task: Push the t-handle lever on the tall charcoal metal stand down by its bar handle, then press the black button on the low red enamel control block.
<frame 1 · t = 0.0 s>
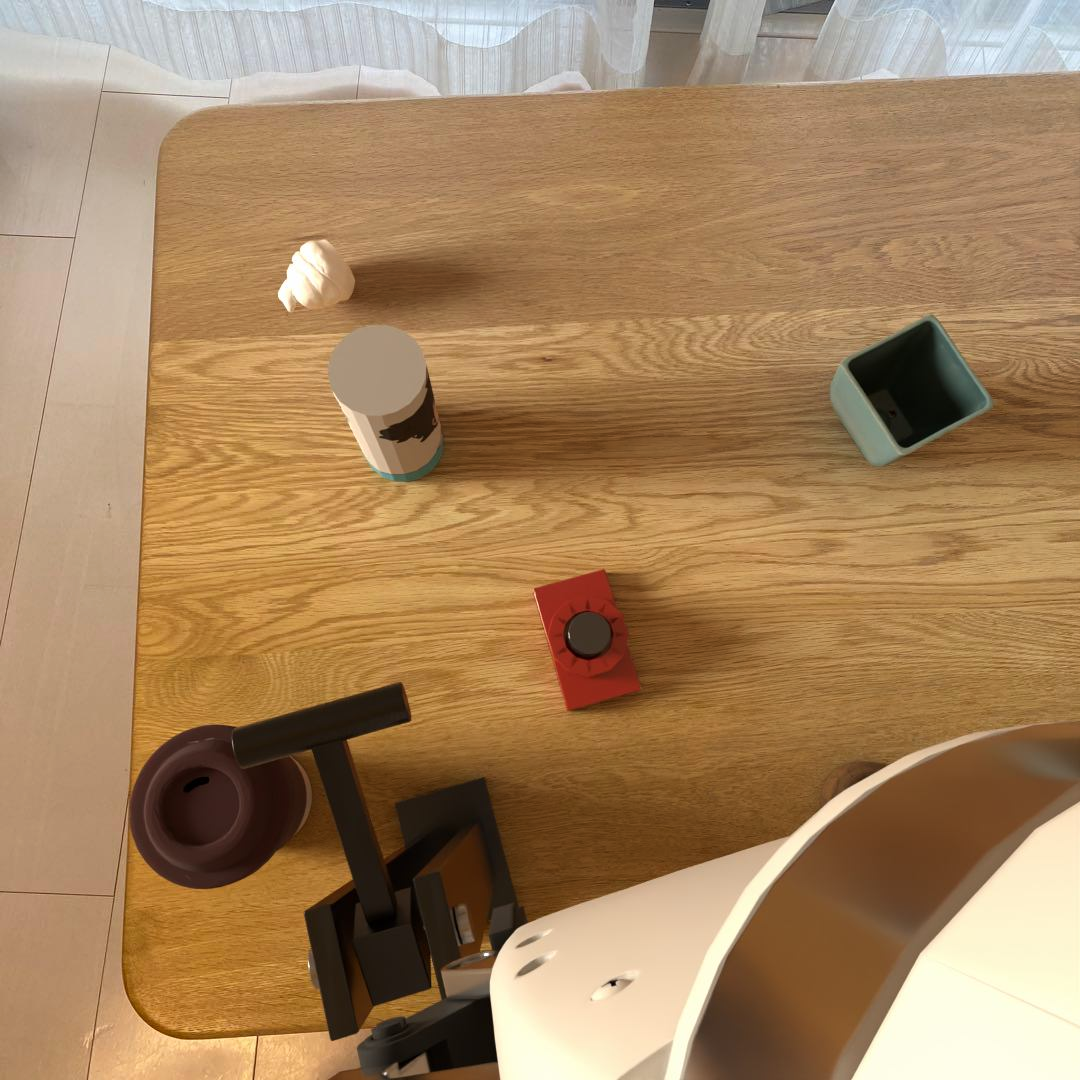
hand: (716, 911, 23), 50 cm above the table, tool pointing down, fingers open, 9 cm apart
t-handle lever: (361, 846, 34), point 39 cm above the table, hinge at 25.0°
mortar and pestle: (861, 804, 72), on the table
button block: (585, 640, 75), on the table
garlic bulb: (318, 299, 81), on the table
beige cylindrical canister: (404, 444, 78), on the table
coffee cup: (266, 798, 71), on the table
flower pot: (873, 425, 80), on the table
lever bracket: (457, 855, 70), on the table
cancel button: (588, 634, 71), point 3 cm above the table, slide at 0.1 cm
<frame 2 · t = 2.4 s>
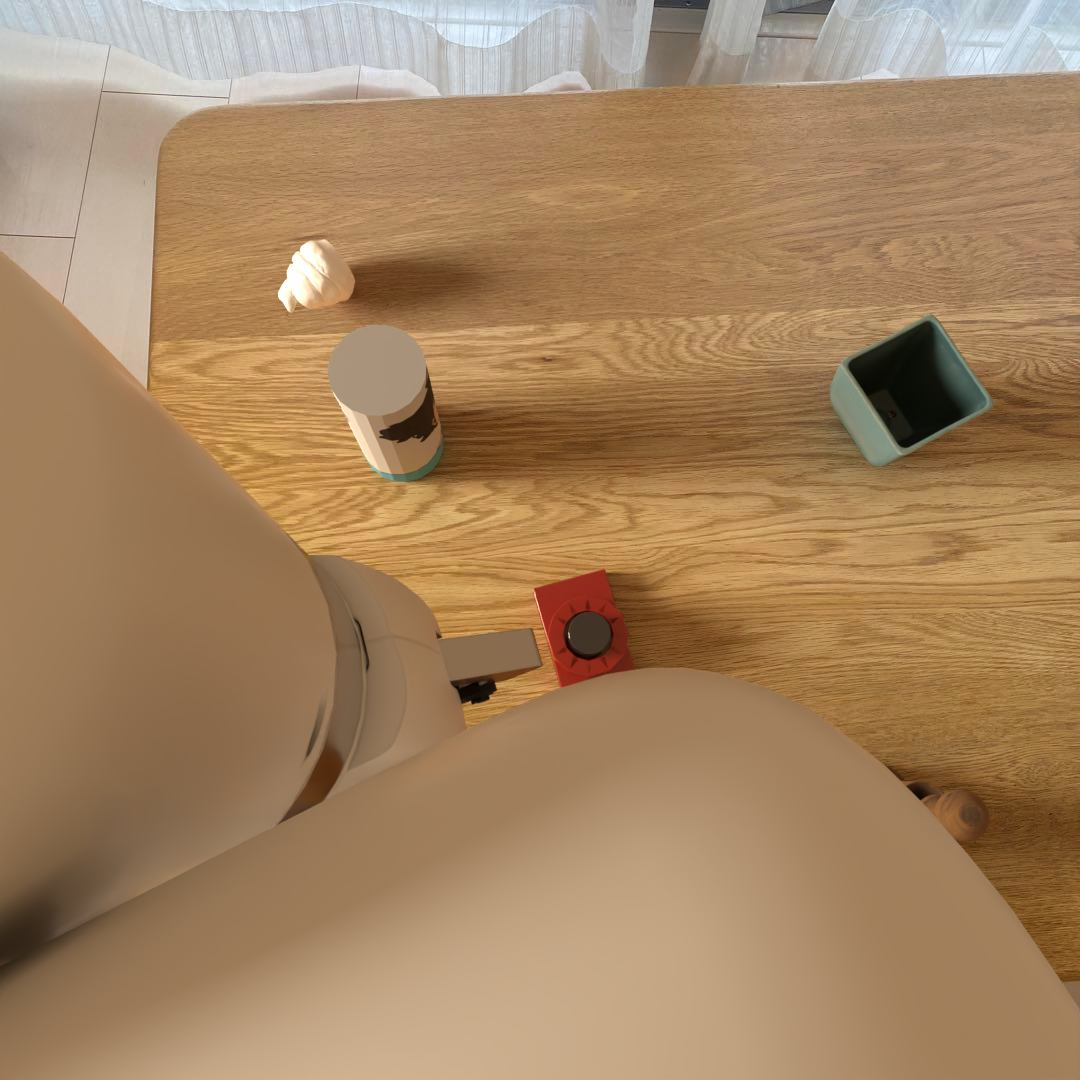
hand: (336, 727, 35), 38 cm above the table, tool pointing down, fingers closed on t-handle lever, 6 cm apart
t-handle lever: (361, 846, 34), point 39 cm above the table, hinge at 25.0°, touching gripper
everything else where it was.
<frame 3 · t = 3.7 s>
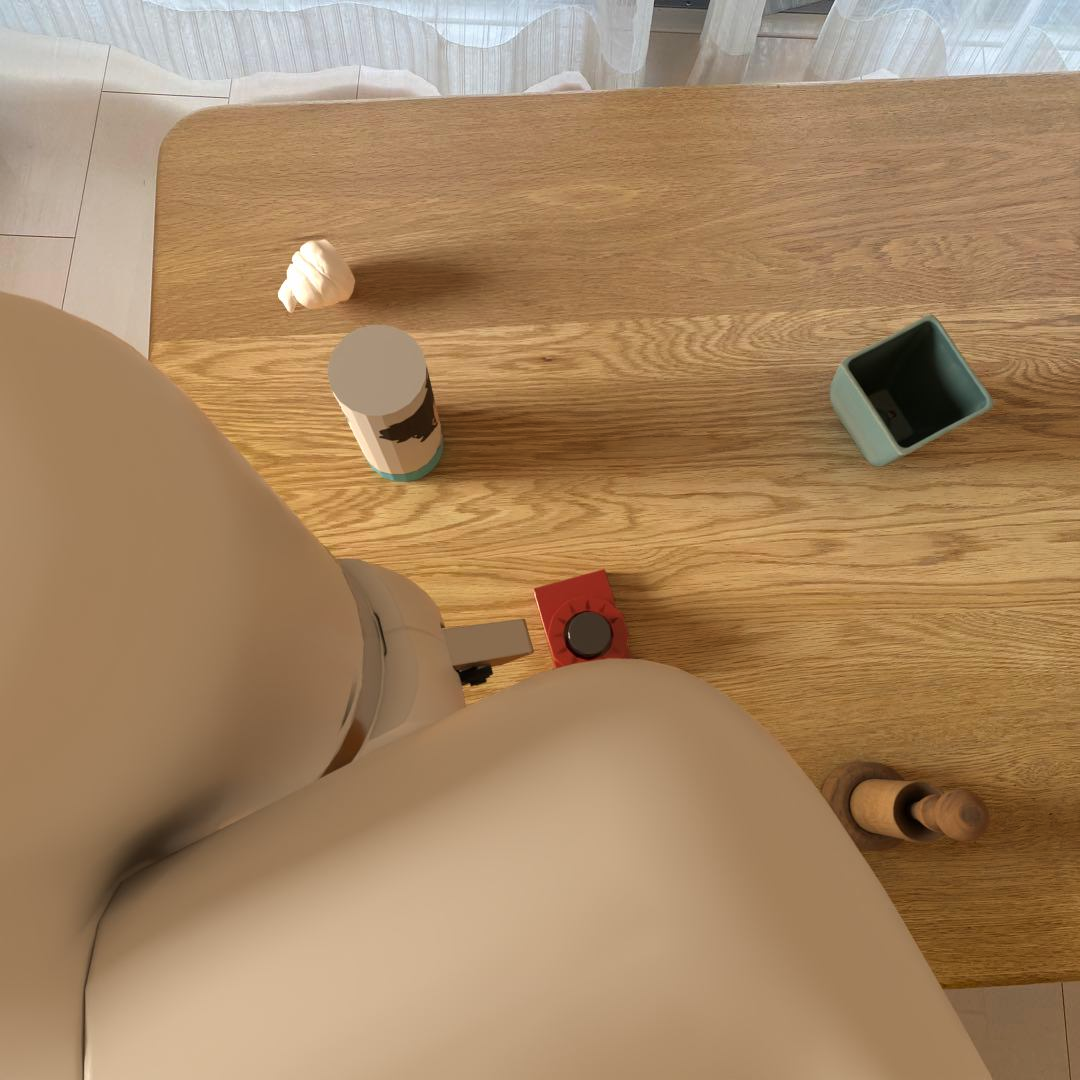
hand: (346, 707, 39), 35 cm above the table, tool pointing down, fingers closed on t-handle lever, 6 cm apart
t-handle lever: (365, 832, 35), point 37 cm above the table, hinge at 3.1°, touching gripper
everything else where it was.
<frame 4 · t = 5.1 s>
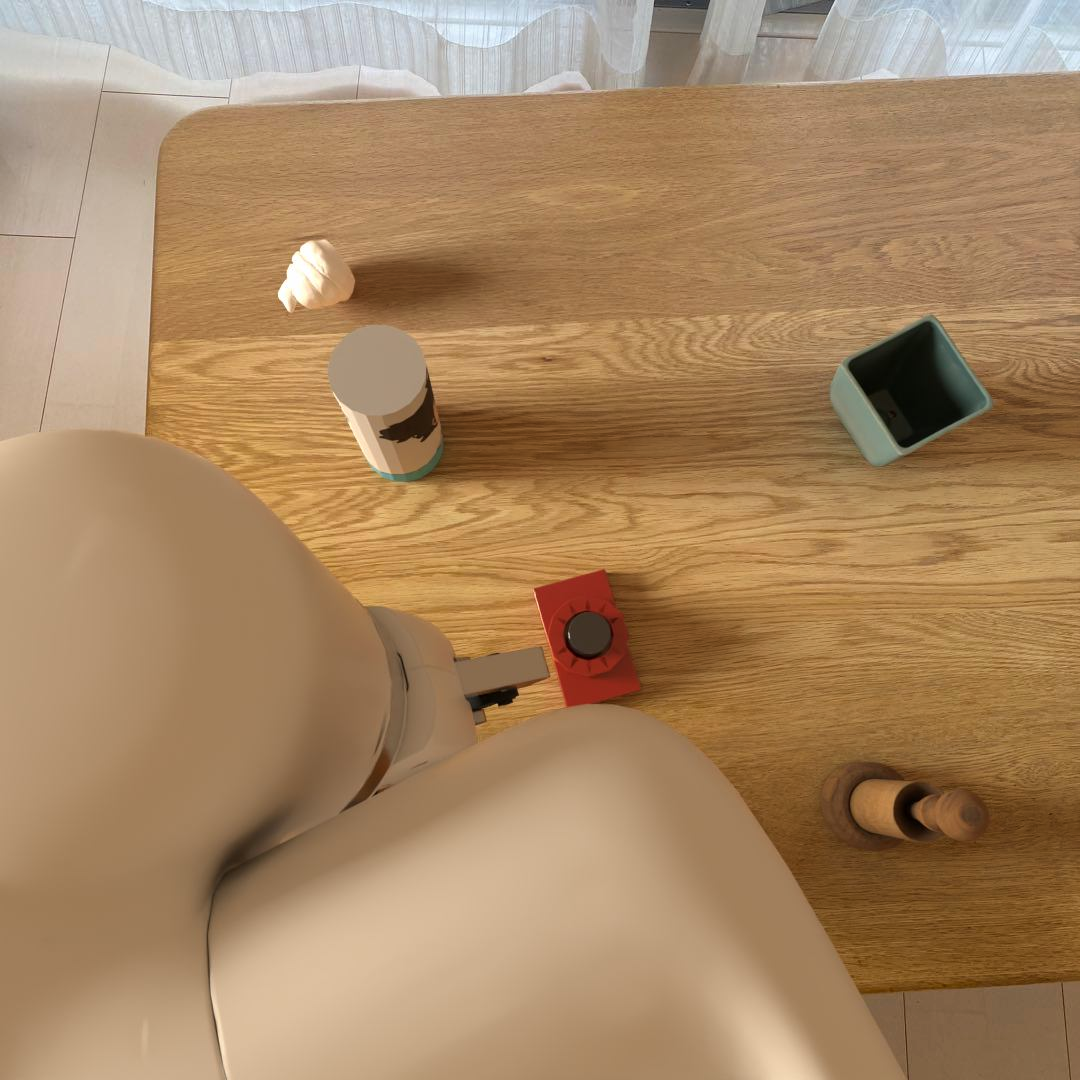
hand: (365, 730, 42), 31 cm above the table, tool pointing down, fingers open, 7 cm apart
t-handle lever: (372, 834, 37), point 36 cm above the table, hinge at -16.8°
everything else where it was.
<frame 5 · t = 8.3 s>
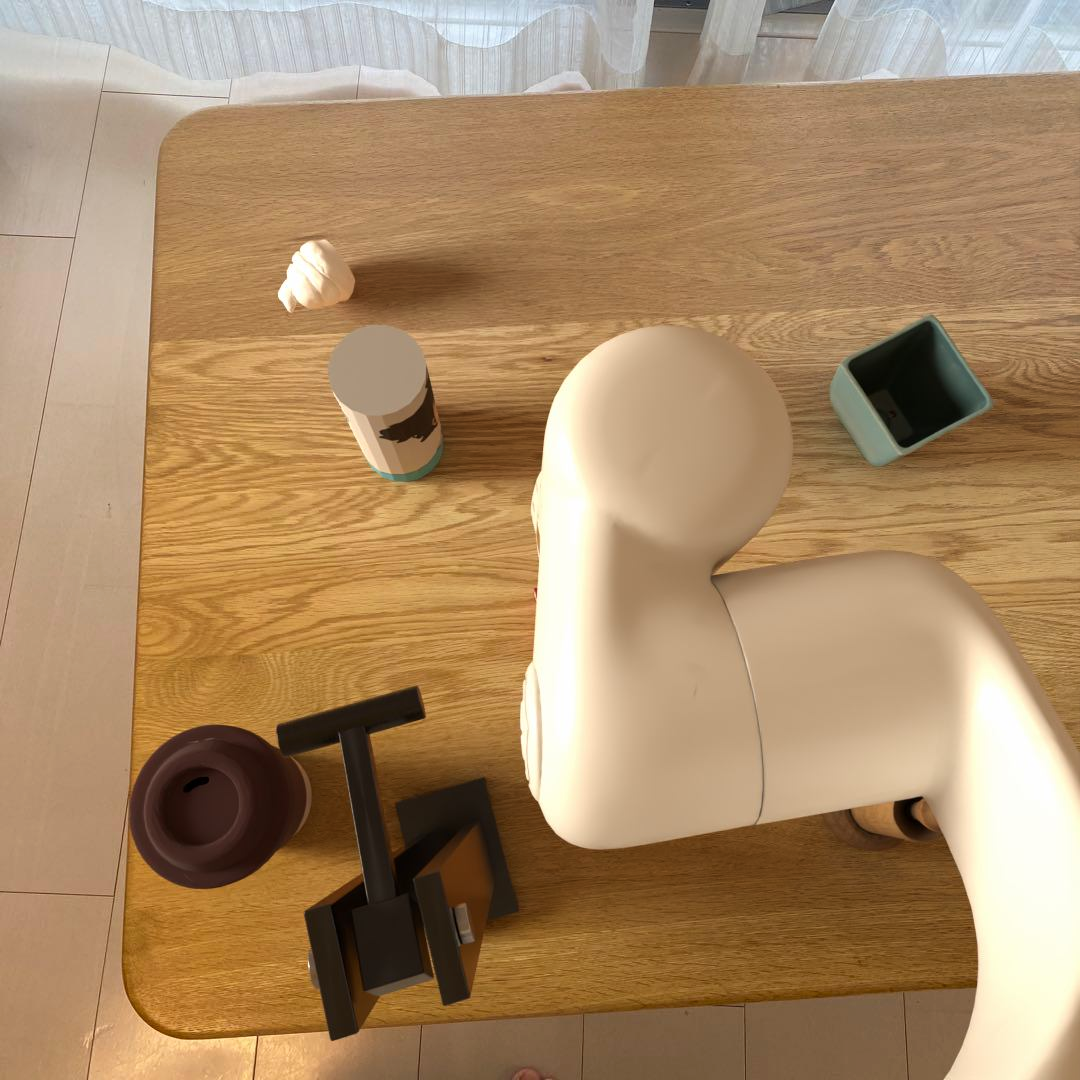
hand: (594, 596, 55), 20 cm above the table, tool pointing down, fingers open, 9 cm apart
nothing on the table moved.
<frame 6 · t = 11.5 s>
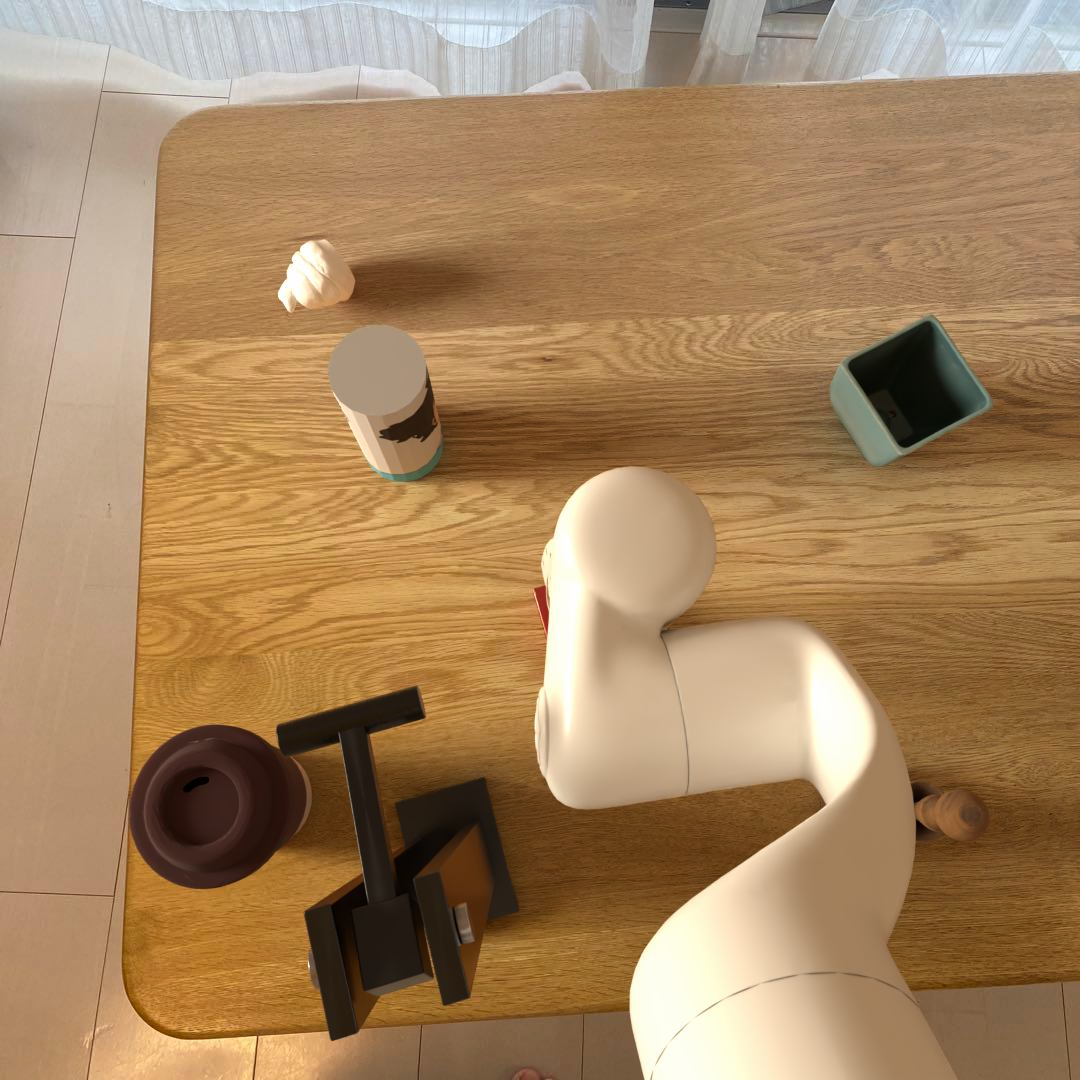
hand: (588, 631, 71), 4 cm above the table, tool pointing down, fingers closed
cancel button: (588, 635, 72), point 3 cm above the table, slide at -0.5 cm, touching gripper
everything else where it was.
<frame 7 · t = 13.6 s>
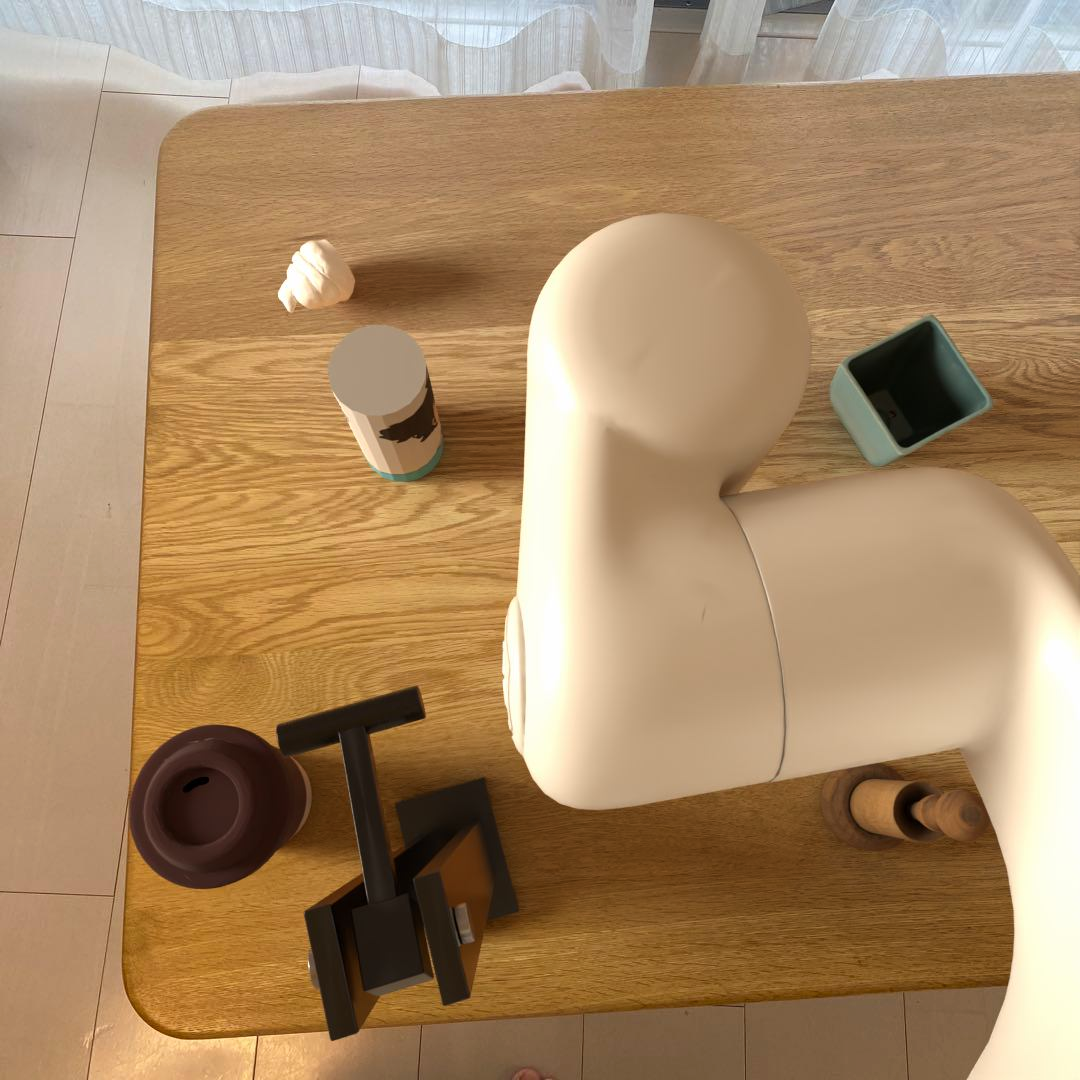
hand: (590, 580, 53), 23 cm above the table, tool pointing down, fingers closed
cancel button: (588, 634, 71), point 3 cm above the table, slide at 0.1 cm
everything else where it was.
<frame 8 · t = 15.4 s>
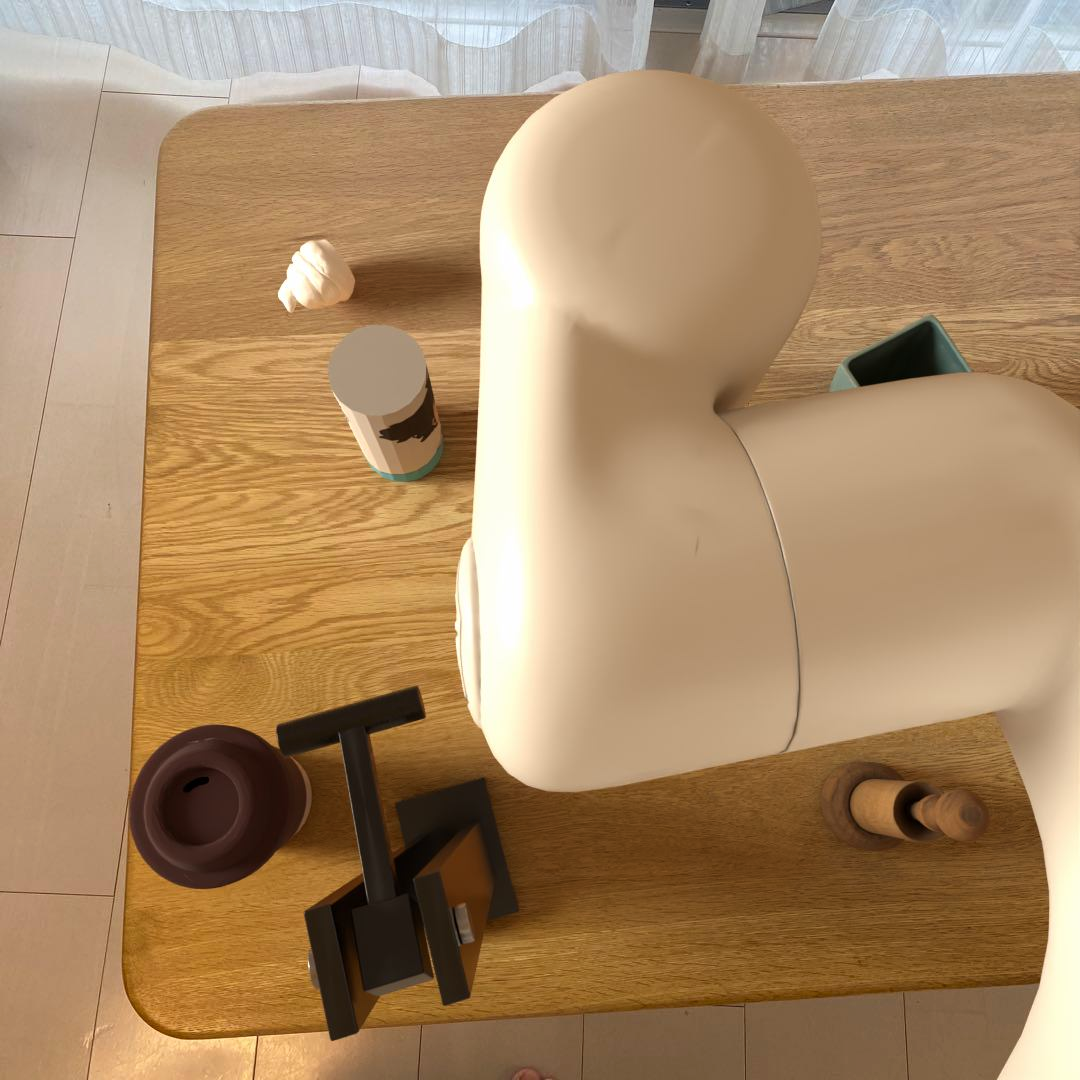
hand: (574, 544, 49), 27 cm above the table, tool pointing down, fingers closed
nothing on the table moved.
at the end: t-handle lever at -17° (first picture: +25°); cancel button pushed in 1.1 cm at the most during the clip, back to where it started at the end; cancel button slide at 0.1 cm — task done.
